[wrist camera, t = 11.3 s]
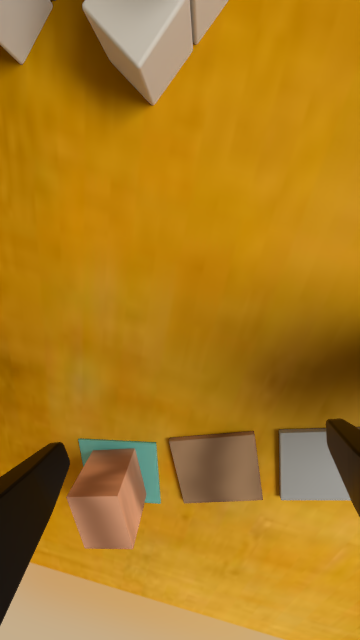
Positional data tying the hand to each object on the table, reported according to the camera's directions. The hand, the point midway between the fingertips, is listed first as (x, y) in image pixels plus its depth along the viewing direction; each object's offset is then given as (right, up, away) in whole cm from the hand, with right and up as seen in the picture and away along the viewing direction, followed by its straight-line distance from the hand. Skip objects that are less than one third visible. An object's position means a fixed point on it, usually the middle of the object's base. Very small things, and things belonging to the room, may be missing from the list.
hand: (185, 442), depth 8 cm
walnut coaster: (+3, -10, +17) cm, 20 cm away
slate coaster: (+13, -9, +15) cm, 22 cm away
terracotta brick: (-6, -12, +18) cm, 22 cm away
